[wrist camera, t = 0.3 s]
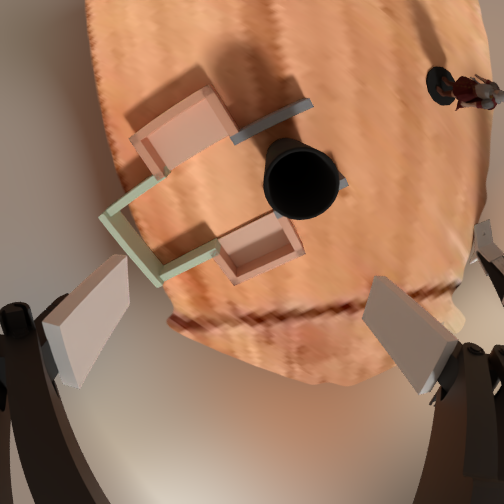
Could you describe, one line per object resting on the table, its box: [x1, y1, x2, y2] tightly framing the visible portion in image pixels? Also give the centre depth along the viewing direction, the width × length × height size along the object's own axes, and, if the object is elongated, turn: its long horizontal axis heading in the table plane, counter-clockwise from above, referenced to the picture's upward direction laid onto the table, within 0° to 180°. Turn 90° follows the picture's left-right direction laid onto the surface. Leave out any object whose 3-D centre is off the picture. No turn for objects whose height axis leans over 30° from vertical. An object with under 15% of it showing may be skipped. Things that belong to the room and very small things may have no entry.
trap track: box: [98, 84, 349, 288], centre depth 37 cm, size 33×28×4 cm
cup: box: [263, 138, 340, 220], centre depth 31 cm, size 8×8×12 cm
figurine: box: [426, 67, 504, 111], centre depth 22 cm, size 7×7×15 cm
